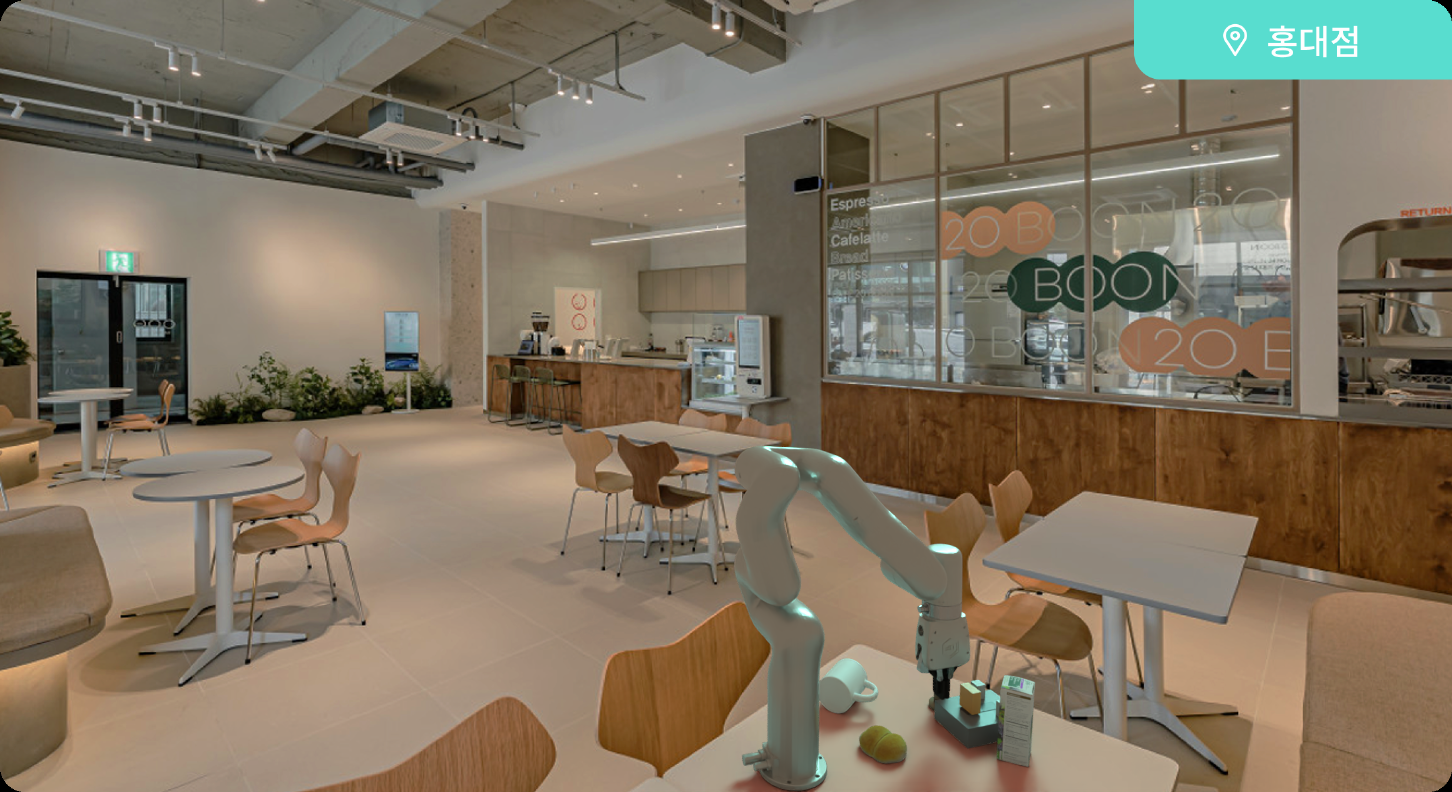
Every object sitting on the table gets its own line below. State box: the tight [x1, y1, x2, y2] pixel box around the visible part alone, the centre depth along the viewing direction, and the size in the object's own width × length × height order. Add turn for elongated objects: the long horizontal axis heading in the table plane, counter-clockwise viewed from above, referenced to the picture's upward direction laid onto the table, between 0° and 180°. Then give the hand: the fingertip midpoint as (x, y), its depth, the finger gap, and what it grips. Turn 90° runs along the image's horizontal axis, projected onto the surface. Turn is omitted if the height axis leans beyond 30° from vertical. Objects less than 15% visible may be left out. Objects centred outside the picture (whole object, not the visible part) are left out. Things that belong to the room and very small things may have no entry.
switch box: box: [933, 679, 1000, 749], centre depth 141 cm, size 14×11×7 cm
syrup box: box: [996, 674, 1036, 768], centre depth 131 cm, size 6×6×14 cm
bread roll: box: [858, 724, 908, 764], centre depth 134 cm, size 8×9×4 cm
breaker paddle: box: [959, 682, 981, 715], centre depth 140 cm, size 2×4×4 cm, turn 18°
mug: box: [819, 658, 879, 714], centre depth 150 cm, size 12×10×8 cm
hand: (941, 695), depth 138 cm, fingers closed
